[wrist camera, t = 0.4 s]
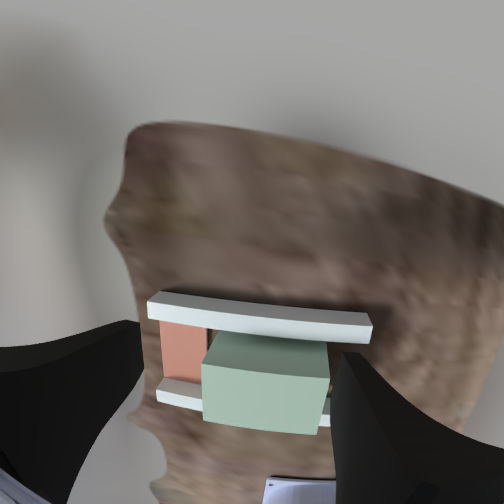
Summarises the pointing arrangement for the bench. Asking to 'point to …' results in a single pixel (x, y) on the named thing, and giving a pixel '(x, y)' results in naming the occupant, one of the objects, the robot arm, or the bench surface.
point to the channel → (236, 320)
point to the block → (265, 382)
